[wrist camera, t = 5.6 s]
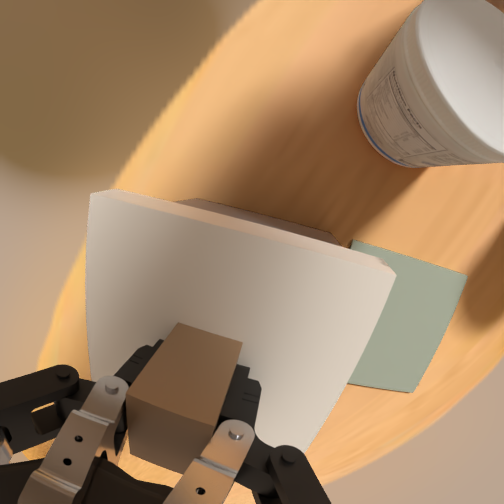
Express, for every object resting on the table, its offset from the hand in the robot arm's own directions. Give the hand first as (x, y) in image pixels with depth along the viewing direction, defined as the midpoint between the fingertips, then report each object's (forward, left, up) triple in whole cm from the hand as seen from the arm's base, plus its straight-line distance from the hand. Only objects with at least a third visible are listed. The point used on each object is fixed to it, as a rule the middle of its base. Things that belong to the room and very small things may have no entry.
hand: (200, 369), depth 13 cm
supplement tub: (-18, +10, -15) cm, 25 cm away
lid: (0, 0, -3) cm, 3 cm away
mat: (+1, +15, -14) cm, 21 cm away
